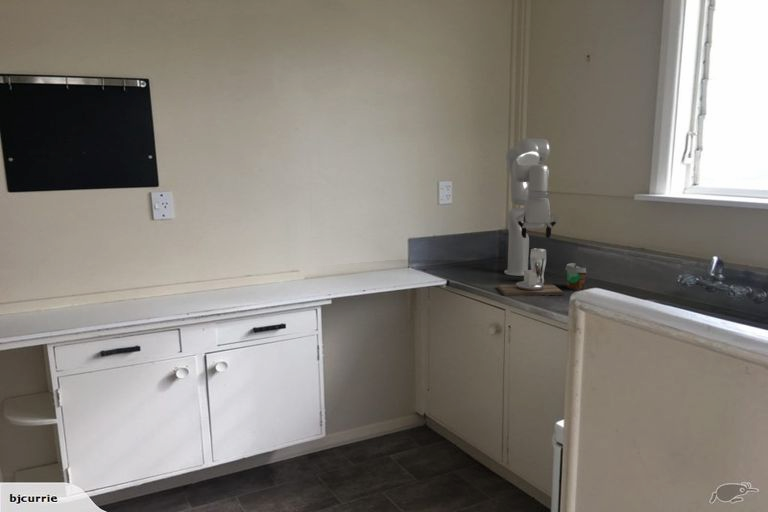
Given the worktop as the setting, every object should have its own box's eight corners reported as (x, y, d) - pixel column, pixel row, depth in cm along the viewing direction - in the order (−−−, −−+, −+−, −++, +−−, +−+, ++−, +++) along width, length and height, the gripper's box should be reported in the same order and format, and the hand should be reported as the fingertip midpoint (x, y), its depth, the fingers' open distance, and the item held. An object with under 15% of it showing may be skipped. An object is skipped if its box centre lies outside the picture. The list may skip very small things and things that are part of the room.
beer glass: (545, 284, 270) (547, 251, 267) (529, 283, 271) (530, 250, 269) (544, 281, 277) (546, 248, 274) (528, 280, 278) (530, 248, 275)
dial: (513, 284, 261) (514, 269, 259) (539, 284, 261) (540, 269, 260) (519, 290, 250) (520, 274, 249) (546, 290, 250) (547, 274, 249)
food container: (560, 285, 268) (561, 263, 266) (573, 285, 268) (574, 262, 267) (570, 291, 256) (572, 268, 254) (585, 291, 256) (586, 268, 255)
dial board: (497, 287, 263) (497, 284, 262) (553, 287, 263) (553, 284, 263) (504, 295, 248) (504, 291, 248) (563, 295, 248) (563, 291, 248)
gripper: (556, 195, 251) (554, 236, 254) (514, 195, 251) (512, 236, 253) (561, 196, 244) (559, 238, 246) (518, 195, 243) (517, 238, 246)
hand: (535, 237), depth 250 cm, fingers open, 9 cm apart
